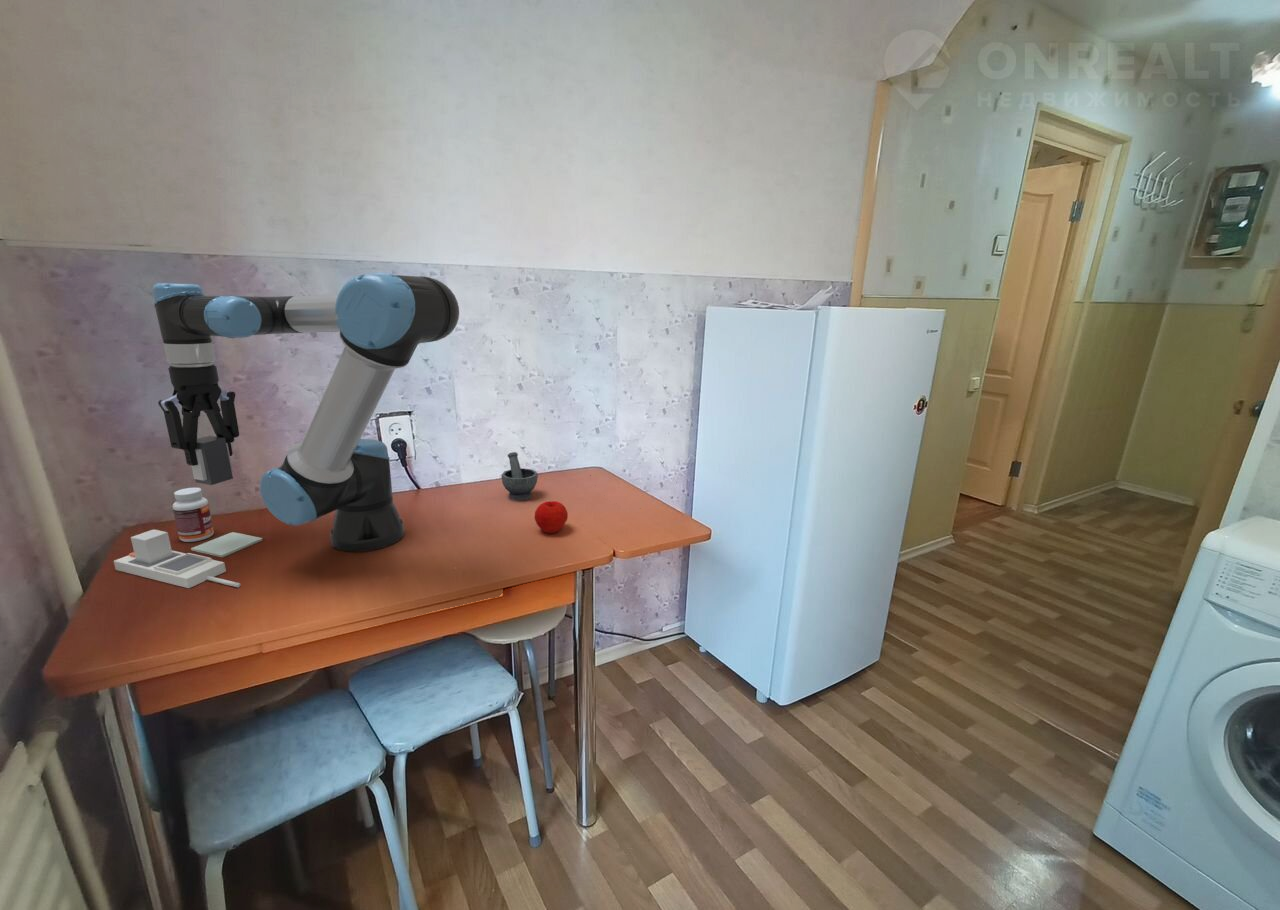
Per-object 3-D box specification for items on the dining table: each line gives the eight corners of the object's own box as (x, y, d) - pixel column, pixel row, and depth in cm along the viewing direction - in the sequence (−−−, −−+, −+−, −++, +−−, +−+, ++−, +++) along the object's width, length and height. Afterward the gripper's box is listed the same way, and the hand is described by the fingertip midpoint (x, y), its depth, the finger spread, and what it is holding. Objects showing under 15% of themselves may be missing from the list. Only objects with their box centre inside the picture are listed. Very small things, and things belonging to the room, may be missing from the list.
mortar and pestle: (542, 499, 152) (542, 458, 148) (510, 505, 147) (509, 463, 143) (527, 487, 161) (526, 448, 157) (496, 492, 156) (494, 452, 152)
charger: (233, 478, 116) (225, 437, 114) (211, 485, 112) (202, 443, 110) (218, 475, 118) (209, 435, 115) (195, 482, 113) (186, 440, 111)
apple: (555, 521, 137) (555, 493, 135) (574, 531, 132) (574, 502, 130) (528, 529, 132) (527, 501, 130) (547, 540, 126) (547, 511, 124)
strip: (256, 578, 106) (250, 545, 104) (220, 596, 99) (212, 561, 97) (155, 554, 114) (148, 523, 112) (116, 569, 107) (107, 537, 105)
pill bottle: (213, 539, 122) (204, 493, 119) (177, 545, 118) (167, 497, 115) (215, 529, 127) (206, 484, 123) (181, 534, 123) (171, 489, 120)
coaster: (262, 540, 122) (262, 538, 122) (222, 557, 114) (221, 555, 113) (232, 534, 124) (232, 532, 124) (191, 550, 116) (190, 548, 116)
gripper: (222, 359, 117) (241, 462, 124) (127, 367, 101) (154, 486, 107) (249, 361, 115) (266, 466, 122) (155, 370, 99) (181, 491, 105)
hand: (213, 475), depth 114 cm, fingers closed on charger, 5 cm apart
